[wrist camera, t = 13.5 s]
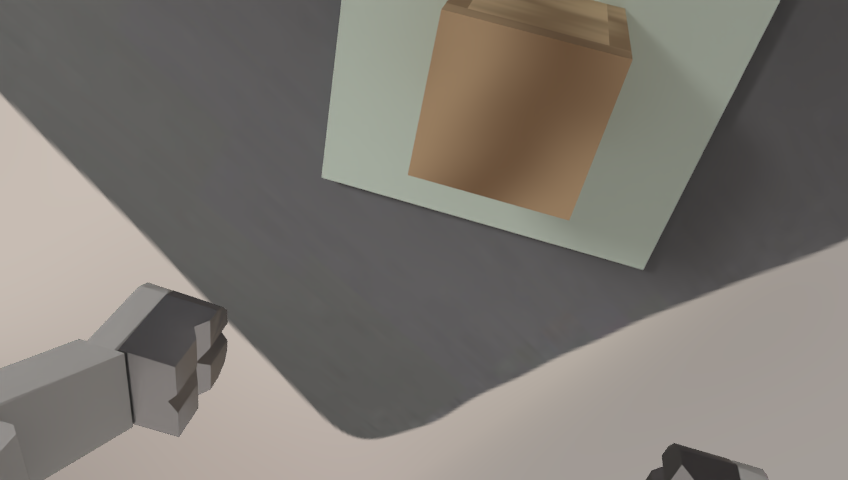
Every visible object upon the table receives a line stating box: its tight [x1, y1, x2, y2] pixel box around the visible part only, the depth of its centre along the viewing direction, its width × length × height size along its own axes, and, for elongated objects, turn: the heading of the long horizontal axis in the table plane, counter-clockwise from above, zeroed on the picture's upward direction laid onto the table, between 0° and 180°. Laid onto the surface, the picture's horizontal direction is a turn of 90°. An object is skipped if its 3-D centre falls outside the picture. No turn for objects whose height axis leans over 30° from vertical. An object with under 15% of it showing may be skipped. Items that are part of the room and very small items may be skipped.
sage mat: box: [322, 0, 780, 270], centre depth 26 cm, size 16×16×1 cm
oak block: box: [408, 0, 633, 220], centre depth 24 cm, size 6×6×6 cm
